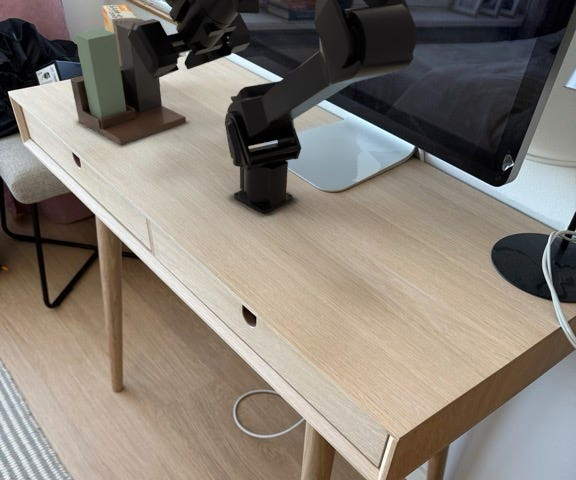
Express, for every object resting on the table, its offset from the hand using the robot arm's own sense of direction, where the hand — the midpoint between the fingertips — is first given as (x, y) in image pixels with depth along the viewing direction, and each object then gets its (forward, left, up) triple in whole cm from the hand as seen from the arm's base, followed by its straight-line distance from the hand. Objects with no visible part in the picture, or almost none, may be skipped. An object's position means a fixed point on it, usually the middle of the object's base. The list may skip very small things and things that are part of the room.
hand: (169, 71), depth 87 cm
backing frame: (+11, 0, -11) cm, 16 cm away
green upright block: (+13, +4, -10) cm, 17 cm away
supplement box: (+24, -9, -11) cm, 28 cm away
